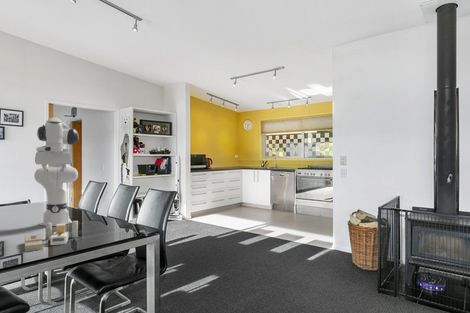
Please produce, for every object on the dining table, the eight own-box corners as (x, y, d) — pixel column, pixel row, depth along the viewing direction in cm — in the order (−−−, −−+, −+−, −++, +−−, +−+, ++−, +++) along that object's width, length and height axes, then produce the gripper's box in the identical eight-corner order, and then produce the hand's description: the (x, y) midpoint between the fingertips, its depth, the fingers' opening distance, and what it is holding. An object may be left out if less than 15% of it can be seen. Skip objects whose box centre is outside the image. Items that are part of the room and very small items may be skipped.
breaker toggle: (56, 232, 168) (56, 224, 168) (65, 231, 169) (65, 223, 169) (56, 233, 165) (56, 224, 165) (64, 232, 167) (64, 224, 167)
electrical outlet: (25, 244, 147) (24, 236, 162) (25, 252, 147) (24, 243, 162) (42, 241, 151) (40, 234, 166) (42, 250, 151) (40, 241, 166)
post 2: (72, 236, 175) (72, 221, 175) (78, 236, 176) (78, 220, 176) (71, 237, 172) (71, 222, 173) (77, 237, 174) (77, 221, 174)
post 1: (46, 238, 170) (46, 222, 170) (52, 238, 171) (52, 222, 171) (45, 240, 167) (45, 223, 168) (51, 239, 169) (51, 223, 169)
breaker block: (54, 239, 169) (54, 232, 169) (68, 238, 171) (68, 231, 171) (50, 245, 158) (50, 237, 158) (65, 244, 160) (65, 236, 160)
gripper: (67, 149, 189) (67, 171, 188) (33, 148, 170) (33, 172, 170) (74, 149, 186) (74, 171, 186) (40, 147, 168) (39, 172, 167)
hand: (54, 172), depth 178 cm, fingers open, 8 cm apart
